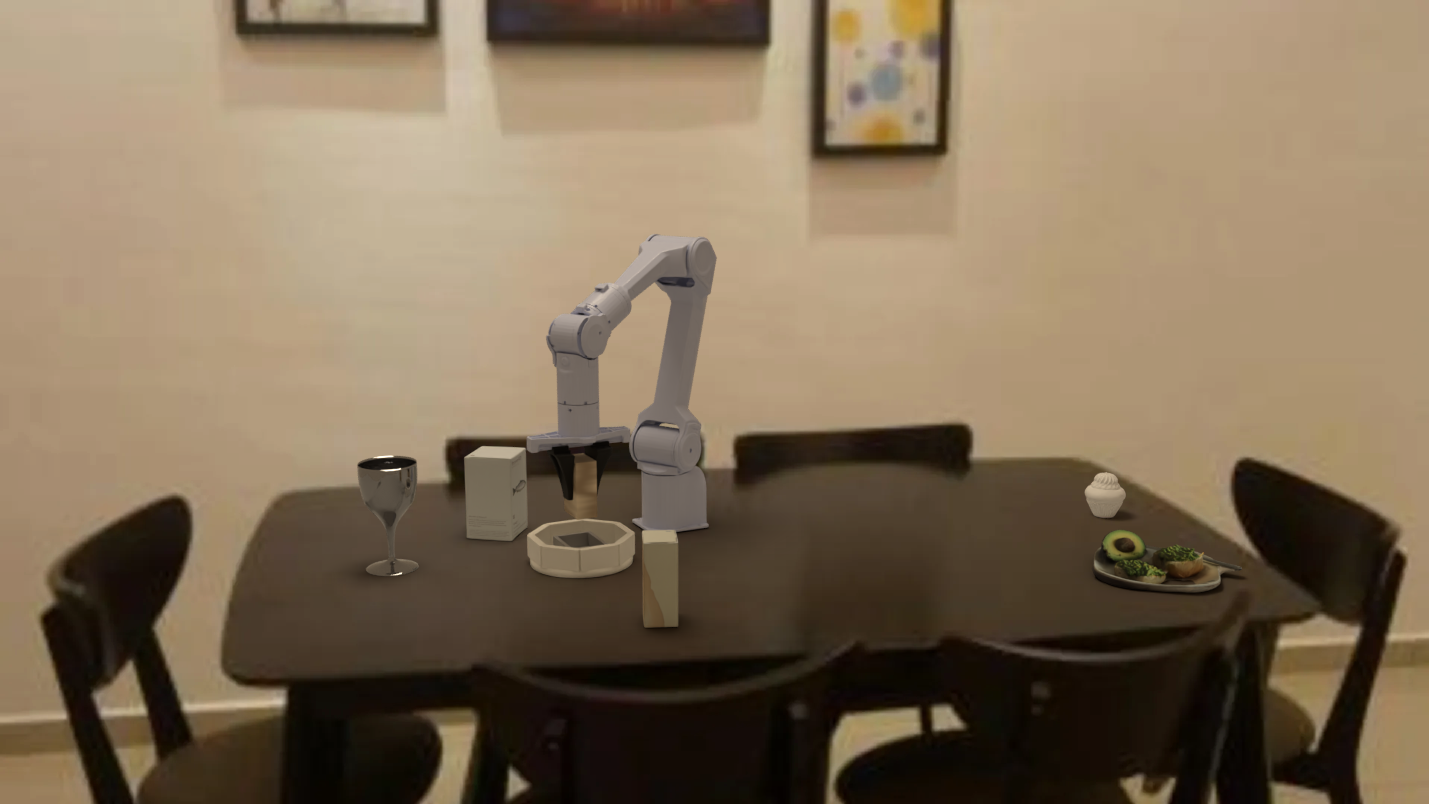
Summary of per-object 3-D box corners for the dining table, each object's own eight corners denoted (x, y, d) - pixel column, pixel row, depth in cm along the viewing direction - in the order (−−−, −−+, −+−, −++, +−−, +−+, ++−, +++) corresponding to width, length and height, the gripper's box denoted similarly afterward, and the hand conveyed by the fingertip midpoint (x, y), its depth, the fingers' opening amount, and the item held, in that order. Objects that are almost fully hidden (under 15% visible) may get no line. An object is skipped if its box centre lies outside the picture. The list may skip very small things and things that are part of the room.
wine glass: (432, 562, 193) (427, 458, 190) (402, 579, 186) (396, 472, 182) (383, 556, 195) (378, 453, 192) (351, 573, 188) (345, 467, 185)
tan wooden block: (584, 508, 195) (583, 453, 193) (597, 517, 190) (596, 461, 189) (564, 510, 193) (563, 455, 192) (577, 519, 189) (575, 463, 187)
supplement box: (513, 542, 202) (510, 458, 199) (465, 539, 203) (462, 456, 201) (529, 527, 209) (527, 446, 206) (483, 524, 210) (480, 444, 208)
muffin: (1080, 518, 214) (1083, 474, 212) (1086, 507, 219) (1088, 465, 218) (1122, 522, 212) (1125, 478, 210) (1126, 512, 217) (1129, 469, 216)
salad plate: (1237, 562, 194) (1240, 531, 193) (1245, 604, 177) (1248, 570, 176) (1095, 549, 200) (1097, 518, 199) (1090, 589, 183) (1091, 556, 182)
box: (642, 613, 173) (641, 529, 171) (676, 612, 173) (676, 528, 171) (643, 629, 168) (642, 542, 166) (679, 627, 168) (678, 541, 166)
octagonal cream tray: (609, 540, 203) (609, 514, 202) (649, 568, 190) (648, 540, 189) (516, 553, 196) (515, 527, 196) (550, 584, 184) (549, 555, 183)
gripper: (537, 411, 182) (540, 510, 185) (638, 401, 188) (639, 497, 191) (520, 402, 188) (523, 497, 191) (618, 392, 194) (620, 485, 197)
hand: (580, 497), depth 191 cm, fingers closed on tan wooden block, 3 cm apart
